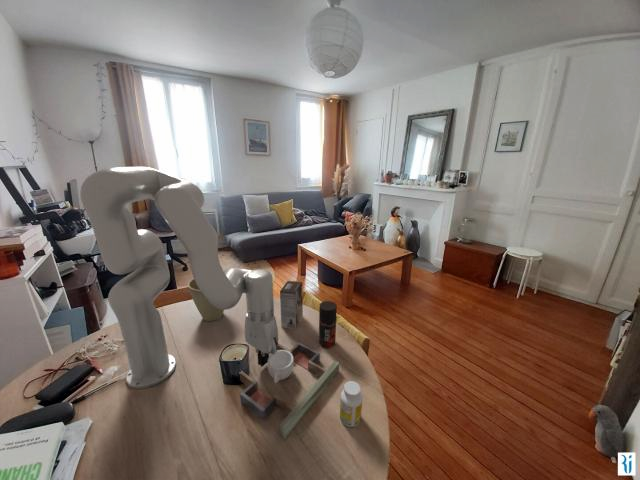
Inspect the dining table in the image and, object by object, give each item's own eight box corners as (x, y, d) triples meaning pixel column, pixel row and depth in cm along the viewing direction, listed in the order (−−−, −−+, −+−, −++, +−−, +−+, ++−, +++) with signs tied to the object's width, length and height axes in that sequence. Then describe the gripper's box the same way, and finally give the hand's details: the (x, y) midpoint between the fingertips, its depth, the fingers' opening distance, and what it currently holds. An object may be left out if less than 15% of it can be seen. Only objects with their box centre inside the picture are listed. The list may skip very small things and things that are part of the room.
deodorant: (321, 349, 88) (322, 311, 83) (316, 338, 93) (317, 302, 89) (337, 346, 89) (339, 309, 85) (332, 335, 95) (333, 300, 90)
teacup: (272, 362, 81) (271, 348, 80) (296, 365, 81) (295, 351, 79) (262, 389, 72) (261, 374, 70) (288, 392, 71) (288, 376, 70)
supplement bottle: (341, 428, 62) (343, 398, 59) (337, 408, 67) (339, 379, 64) (363, 426, 62) (365, 396, 59) (358, 406, 67) (360, 377, 64)
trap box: (217, 384, 73) (216, 375, 72) (277, 338, 93) (277, 331, 92) (285, 438, 59) (284, 428, 58) (338, 370, 79) (339, 362, 78)
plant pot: (203, 332, 95) (197, 294, 91) (187, 316, 105) (182, 281, 100) (239, 316, 106) (236, 281, 101) (222, 302, 115) (218, 270, 111)
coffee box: (288, 314, 107) (287, 279, 102) (303, 316, 106) (302, 281, 101) (280, 327, 99) (279, 290, 94) (296, 330, 97) (296, 292, 93)
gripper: (233, 309, 75) (238, 359, 80) (270, 327, 67) (272, 382, 72) (253, 298, 81) (256, 346, 86) (288, 314, 73) (289, 365, 78)
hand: (263, 362), depth 79 cm, fingers closed
